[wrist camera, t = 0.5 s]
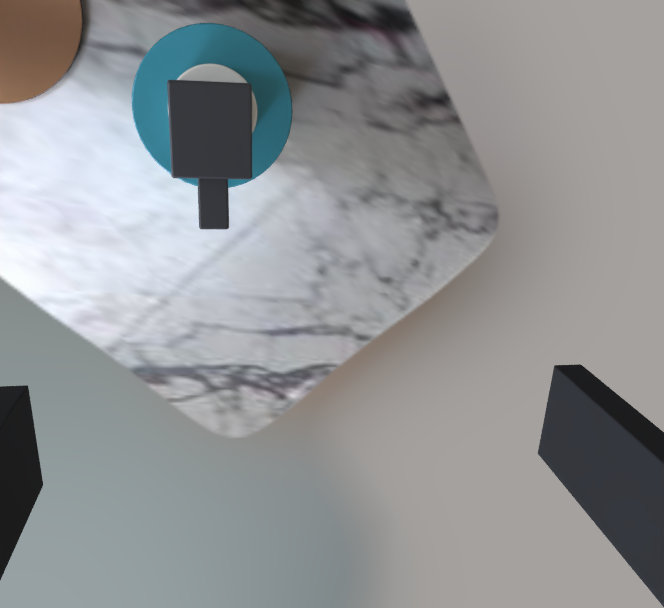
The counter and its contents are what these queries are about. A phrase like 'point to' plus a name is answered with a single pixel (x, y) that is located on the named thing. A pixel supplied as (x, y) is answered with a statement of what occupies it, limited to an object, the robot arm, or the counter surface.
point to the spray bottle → (212, 111)
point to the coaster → (36, 45)
